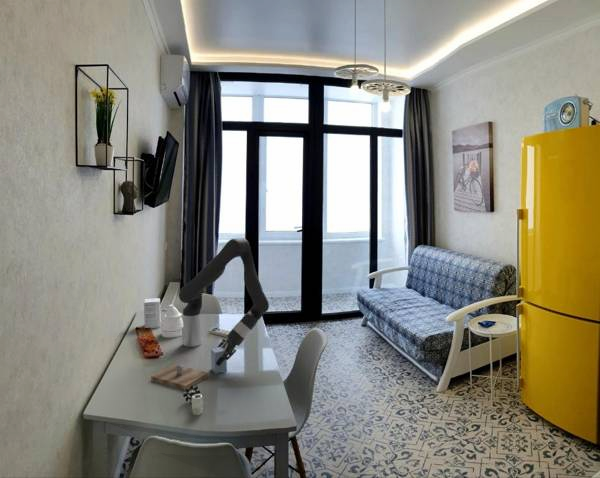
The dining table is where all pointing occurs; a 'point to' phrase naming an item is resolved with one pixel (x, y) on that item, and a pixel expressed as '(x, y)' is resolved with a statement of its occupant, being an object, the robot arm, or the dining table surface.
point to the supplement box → (152, 313)
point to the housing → (215, 355)
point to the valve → (195, 400)
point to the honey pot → (172, 323)
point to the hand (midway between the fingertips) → (215, 362)
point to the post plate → (179, 376)
